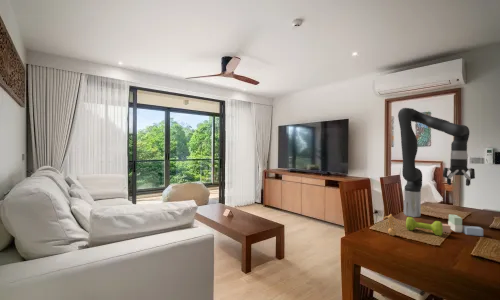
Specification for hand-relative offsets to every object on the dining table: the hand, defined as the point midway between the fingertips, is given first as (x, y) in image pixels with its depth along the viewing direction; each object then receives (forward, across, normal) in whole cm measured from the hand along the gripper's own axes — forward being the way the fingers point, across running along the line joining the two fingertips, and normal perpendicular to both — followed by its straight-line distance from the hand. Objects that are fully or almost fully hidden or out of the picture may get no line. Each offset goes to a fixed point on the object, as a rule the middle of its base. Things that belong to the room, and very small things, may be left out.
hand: (458, 185), depth 137 cm
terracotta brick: (+25, +12, +14) cm, 31 cm away
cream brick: (+25, +4, +8) cm, 27 cm away
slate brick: (+25, -2, +13) cm, 28 cm away
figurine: (+25, +40, +31) cm, 56 cm away
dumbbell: (+25, +22, +18) cm, 38 cm away
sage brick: (+21, +4, +8) cm, 23 cm away
